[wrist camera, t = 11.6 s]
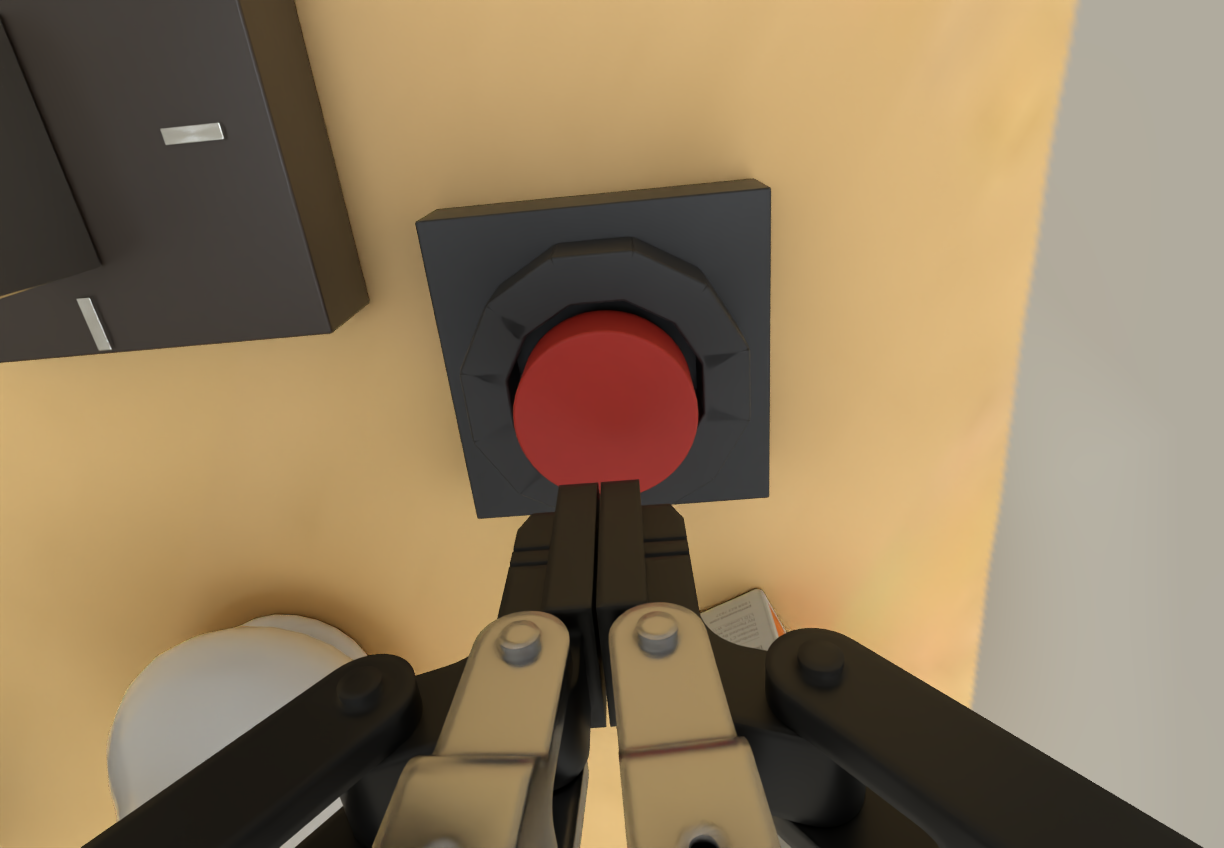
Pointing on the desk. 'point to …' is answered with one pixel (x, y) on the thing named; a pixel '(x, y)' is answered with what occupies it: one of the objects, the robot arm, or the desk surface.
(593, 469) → the button
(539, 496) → the button box
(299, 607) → the desk surface
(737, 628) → the cosmetic box
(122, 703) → the flower vase
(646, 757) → the robot arm
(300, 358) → the desk surface
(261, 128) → the rotary lever switch
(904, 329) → the desk surface
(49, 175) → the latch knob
